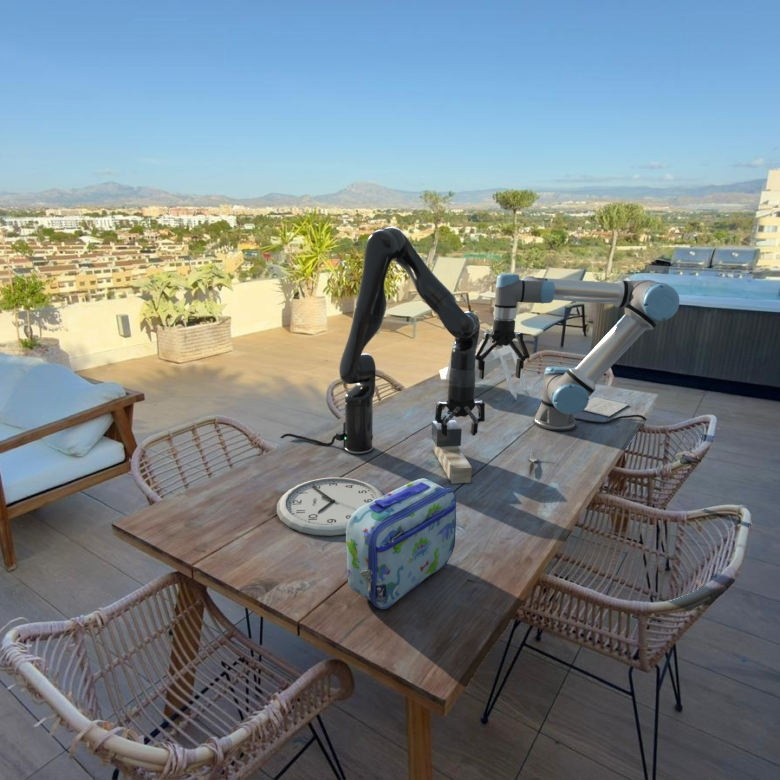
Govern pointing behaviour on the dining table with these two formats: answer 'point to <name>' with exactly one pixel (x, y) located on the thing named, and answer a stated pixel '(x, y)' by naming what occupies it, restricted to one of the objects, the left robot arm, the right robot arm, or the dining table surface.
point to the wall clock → (324, 504)
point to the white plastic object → (493, 367)
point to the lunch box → (400, 540)
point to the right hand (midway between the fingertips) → (499, 377)
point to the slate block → (452, 434)
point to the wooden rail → (454, 464)
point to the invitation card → (603, 406)
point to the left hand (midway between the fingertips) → (458, 435)
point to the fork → (533, 461)
